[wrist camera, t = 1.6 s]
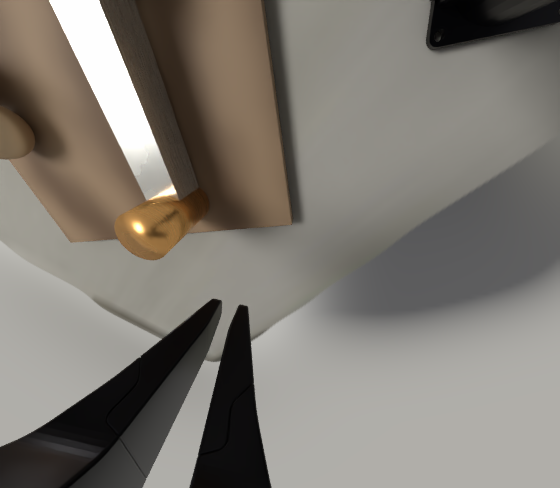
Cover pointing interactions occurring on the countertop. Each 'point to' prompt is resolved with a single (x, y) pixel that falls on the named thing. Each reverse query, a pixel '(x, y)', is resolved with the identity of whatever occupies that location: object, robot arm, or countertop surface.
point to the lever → (136, 121)
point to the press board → (185, 103)
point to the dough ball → (14, 135)
